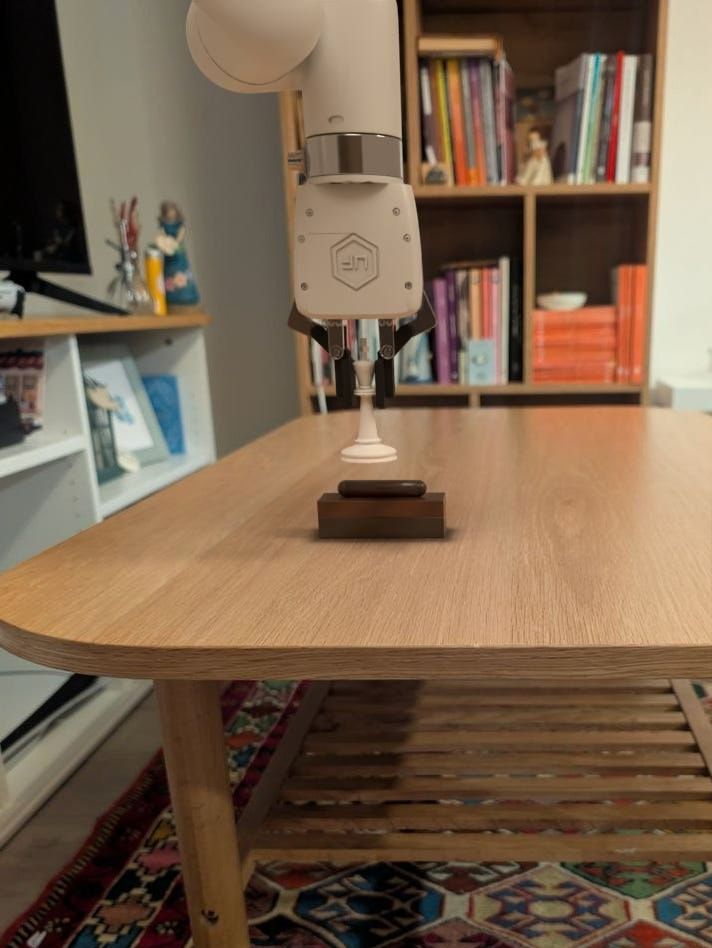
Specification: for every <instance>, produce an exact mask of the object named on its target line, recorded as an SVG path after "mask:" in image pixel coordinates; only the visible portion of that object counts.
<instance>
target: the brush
mask: <svg viewBox="0 0 712 948" xmlns="http://www.w3.org/2000/svg"><path fill="white" fill-rule="evenodd" d="M336 489H337V490H336V491H337V492H324V493H323V494H322V495H320V497H319V498H318V499H317V500H316V509H317V522H318V523H317V526H318V537H319V539H427V538H428V539H440V538H441V539H442V538H443V539H444V538H445V536H446V531H447V496H446V495H447V493H446V492H444V491H443V492H441V491H439V492H434V491H433V492H427V490H428V487H427V484H426V482H425V481H423V480H421V479H344V480H341V481H340V482H339V483H338V484H337V488H336Z"/></svg>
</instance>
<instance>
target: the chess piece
mask: <svg viewBox="0 0 712 948" xmlns="http://www.w3.org/2000/svg"><path fill="white" fill-rule="evenodd" d="M359 342H360V343H359V344H360V345H358V352H360V358H359V359H358V360H355V362H353V368H354V371H355V373H356V381H357V382H358V385H359V386H358V388H356V390H354V393H353V394H354V395H357V396H360V403H359V404H360V407H359V420H358V422H359V423H358V434H357V438H355V439H354V442H355V444H354V445H353V444H352V445H349V446H348V447H345V448H343V449H342V450H341V451H340V455H341V457H339V460H340V461H341V462H344V463H348V464H357V465H358V464H359V465H363V464H364V465H368V464H369V465H370V464H383V463H389V462H394V461H396V460H398V456H397V449H396V448H394V447H392V446H390V445H387V444H383V443H381V441H382V440H383V439H382V438H380V437H379V435H378V430H377V425H376V418H375V413H374V404H373V396H376V392H375V388H373V386H372V384H373V381H374V378H375V369H374V361H375V360H370V358H368V353H369V350H370V349H369V348H370V347H369V346H368V345H367V343H368V342H367V338H366V337H361V338H359Z"/></svg>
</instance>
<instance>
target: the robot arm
mask: <svg viewBox="0 0 712 948" xmlns="http://www.w3.org/2000/svg"><path fill="white" fill-rule="evenodd" d="M190 1H191V3H190V5H189V8H188V11H187V14H186V15H187V16H186V19H185V37H186V43H187V46H188V50H189V53H190V55H191V58H192V60H193V62H194V63H195V65H196V66H197V68H198V69H199V70H200V72H201V73H202V74H203V75H204V76H205V77H206V78H207V79H208V80H210V81H211V82H212V83H213V84H215V85H217V86H219V87H220V88H222V89H225V90H227V91H229V92H232V93H233V92H234V93H237V94H247V95H248V94H249V95H252V94H265V93H266V94H267V93H275V92H276V93H277V92H288V91H289V92H290V91H301V99H302V113H303V129H304V138H305V139H304V140H302V146H301V147H300V148H301V149H297V150H296V151H288V152H287V156H286V157H287V159H286V160H287V168H288V170H289V172H294V171H295V172H297V171H298V173H299V174H301V173H302V175H304V176H305V178H306V179H307V184H299V185H298V186H297V187H296V196H295V206H294V220H293V221H294V222H293V285H294V299H293V301H292V304H291V308H290V311H289V314H288V317H287V319H286V325H287V327H288V329H290V330H292V331H294V332H297V333H299V334H302V335H304V336H306V337H309V338H311V339H313V340H314V341H315V342H316V343H317V344H318V345H319V346H320V347H321V348H322V349H323V350H324V351H325V352H326V353H327V354H328V355H329V356H330V358H331V359H333V365H334V382H335V383H334V384H335V396H336V399H342V402H343V403H342V406H343V409H344V410H351V409H353V408H354V407H356V406H357V405H358V395H354V394H353V393H354V390H357V376H356V373H355V371H354V368H353V362H355V361H356V359H354V358H353V357H352V351H351V350H350V348H349V331H348V328H349V327H348V320H377V326H378V341H379V342H378V343H379V350H378V351H377V352H376V355H377V356H376V358H377V359H376V360H373V361H374V369H375V373H374V389H375V392H376V395H375V407H376V408H378V410H386V408H388V407H389V399H395V398H396V378H395V377H396V375H395V357H396V356H397V355H398V354H399V352H400V351H402V349H403V348H404V347H405V346H406V345H407V344H408V343H409V341H410V340H411V339H412V338H415V337H417V336H419V335H421V334H423V333H425V332H427V331H430V330H431V329H433V328H435V327H436V326H437V325H438V319H437V316H436V314H435V311H434V309H433V307H432V305H431V303H430V300H429V298H428V295H427V293H426V291H425V289H424V271H423V270H424V269H423V257H422V244H421V236H420V235H421V234H420V228H419V227H420V226H419V218H418V212H417V206H416V205H417V204H416V199H415V195H414V190H413V187H412V185H411V184H407V183H404V157H403V153H404V151H403V133H402V131H403V130H402V100H401V99H402V96H401V66H400V65H401V64H400V63H401V62H400V39H399V38H400V34H399V31H400V30H399V13H398V12H399V11H398V4H397V0H190ZM415 315H416V317H415V318H414V319H413V320H411V321H408V322H407V323H404V324H402V325H400V327H398V326H397V319H404V318H408V317H413V316H415ZM312 319H315V320H327V326H326V325H323V324H320V323H318V322H316V321H314V320H312ZM397 327H398V328H397Z"/></svg>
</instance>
